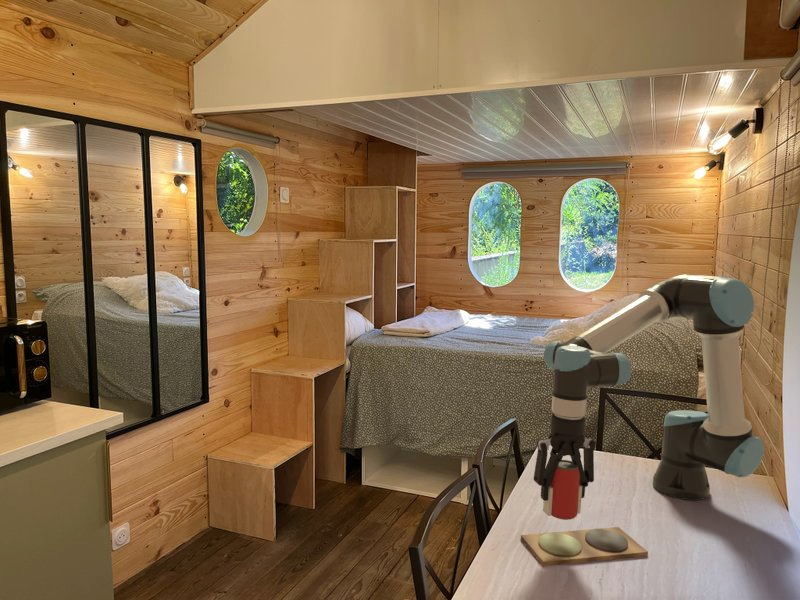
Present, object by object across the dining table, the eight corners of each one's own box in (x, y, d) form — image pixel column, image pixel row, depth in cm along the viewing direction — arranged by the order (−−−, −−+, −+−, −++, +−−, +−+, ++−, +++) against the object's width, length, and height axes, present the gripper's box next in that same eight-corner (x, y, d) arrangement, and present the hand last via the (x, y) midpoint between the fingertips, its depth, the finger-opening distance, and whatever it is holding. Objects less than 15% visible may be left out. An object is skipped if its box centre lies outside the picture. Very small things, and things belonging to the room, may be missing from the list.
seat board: (618, 530, 152) (618, 524, 152) (647, 555, 140) (648, 549, 140) (520, 539, 146) (521, 532, 146) (543, 566, 135) (543, 559, 134)
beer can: (578, 522, 137) (582, 471, 135) (547, 518, 138) (551, 467, 137) (575, 509, 143) (579, 460, 142) (546, 506, 145) (550, 457, 143)
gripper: (598, 408, 144) (591, 502, 147) (521, 411, 140) (515, 507, 142) (616, 418, 137) (608, 516, 139) (535, 421, 133) (529, 522, 135)
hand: (561, 511), depth 141 cm, fingers closed on beer can, 6 cm apart
